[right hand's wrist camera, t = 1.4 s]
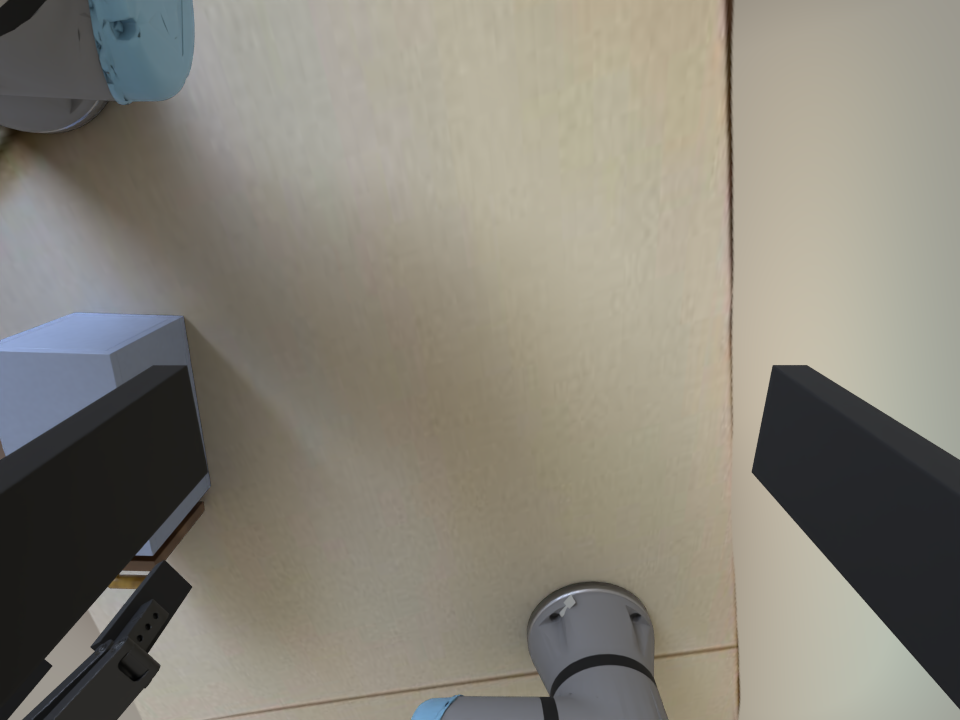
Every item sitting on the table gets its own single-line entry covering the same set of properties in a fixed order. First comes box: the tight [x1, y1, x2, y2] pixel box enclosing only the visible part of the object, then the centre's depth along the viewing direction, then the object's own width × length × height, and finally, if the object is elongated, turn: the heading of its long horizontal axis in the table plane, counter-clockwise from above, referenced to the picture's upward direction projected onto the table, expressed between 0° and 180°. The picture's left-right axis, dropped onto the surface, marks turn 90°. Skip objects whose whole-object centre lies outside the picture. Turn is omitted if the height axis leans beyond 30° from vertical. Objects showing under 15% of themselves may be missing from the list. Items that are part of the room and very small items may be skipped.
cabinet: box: [0, 313, 211, 556], centre depth 52 cm, size 20×11×11 cm, turn 178°
